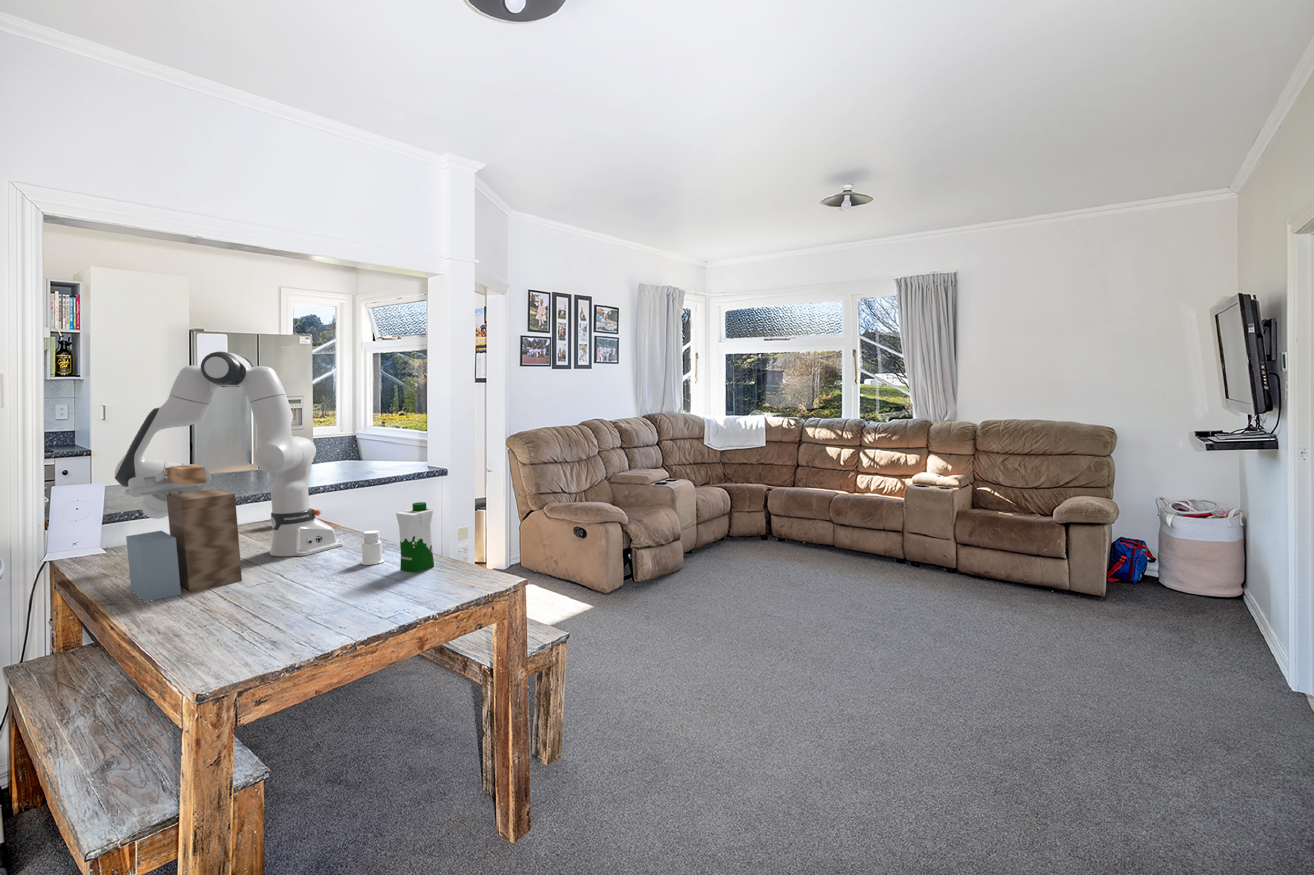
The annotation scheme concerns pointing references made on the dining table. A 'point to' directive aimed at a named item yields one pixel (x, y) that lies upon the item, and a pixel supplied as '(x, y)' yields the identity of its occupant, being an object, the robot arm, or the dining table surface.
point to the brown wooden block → (187, 474)
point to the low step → (153, 565)
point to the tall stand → (205, 538)
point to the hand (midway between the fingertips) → (175, 471)
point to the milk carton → (416, 538)
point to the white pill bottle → (371, 548)
